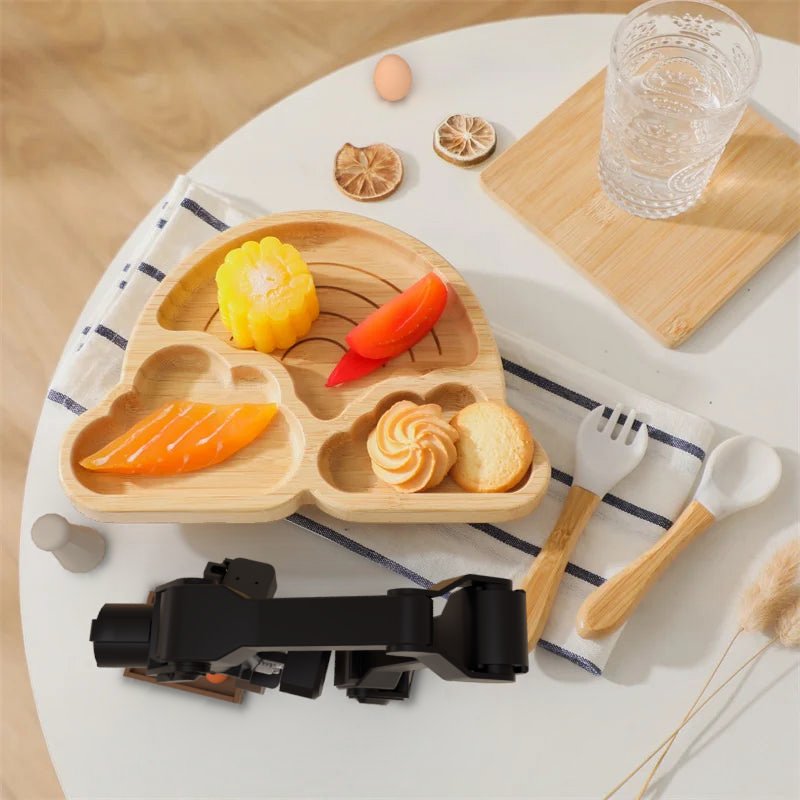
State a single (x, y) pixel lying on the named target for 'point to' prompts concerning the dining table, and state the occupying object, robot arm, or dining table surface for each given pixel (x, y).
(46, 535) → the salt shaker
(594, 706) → the dining table surface
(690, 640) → the dining table surface
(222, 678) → the ball
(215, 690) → the tray
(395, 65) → the egg
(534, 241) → the dining table surface
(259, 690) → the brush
